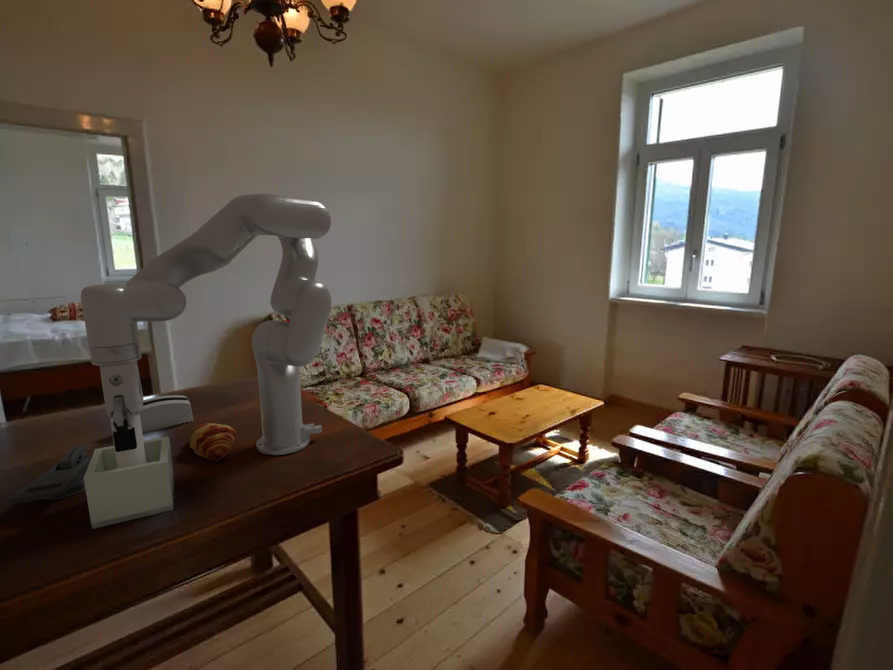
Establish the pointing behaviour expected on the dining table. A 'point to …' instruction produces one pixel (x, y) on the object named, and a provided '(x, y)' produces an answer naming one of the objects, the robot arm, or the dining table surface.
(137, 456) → the candle
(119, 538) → the dining table surface
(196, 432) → the croissant
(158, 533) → the dining table surface
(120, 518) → the open square box
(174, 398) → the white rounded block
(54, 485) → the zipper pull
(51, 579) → the dining table surface
